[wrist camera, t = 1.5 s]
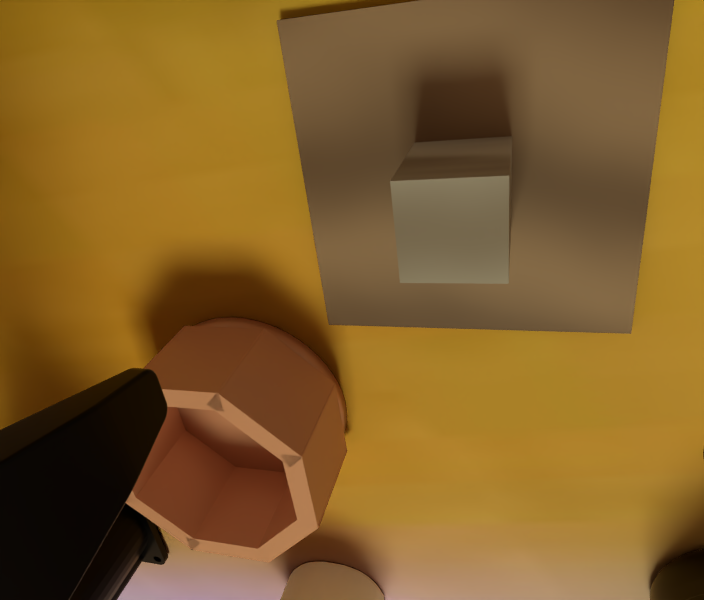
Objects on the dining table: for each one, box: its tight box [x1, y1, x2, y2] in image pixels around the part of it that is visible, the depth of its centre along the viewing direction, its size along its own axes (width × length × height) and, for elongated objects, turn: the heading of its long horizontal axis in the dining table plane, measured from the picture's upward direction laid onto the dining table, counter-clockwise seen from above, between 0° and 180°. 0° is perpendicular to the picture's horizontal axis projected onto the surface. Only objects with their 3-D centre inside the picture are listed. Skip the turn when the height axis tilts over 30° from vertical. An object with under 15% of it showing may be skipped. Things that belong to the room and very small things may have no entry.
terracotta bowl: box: [126, 317, 347, 563], centre depth 24 cm, size 9×9×5 cm
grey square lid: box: [277, 0, 674, 334], centre depth 17 cm, size 11×11×5 cm
